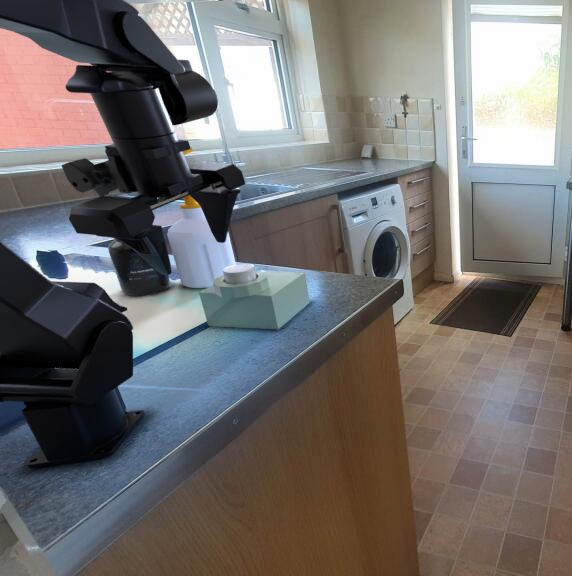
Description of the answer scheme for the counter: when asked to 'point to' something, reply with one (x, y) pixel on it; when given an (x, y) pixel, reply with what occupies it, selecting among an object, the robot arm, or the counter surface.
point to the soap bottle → (197, 247)
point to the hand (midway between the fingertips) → (196, 257)
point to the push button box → (256, 300)
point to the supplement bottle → (135, 271)
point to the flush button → (239, 273)
